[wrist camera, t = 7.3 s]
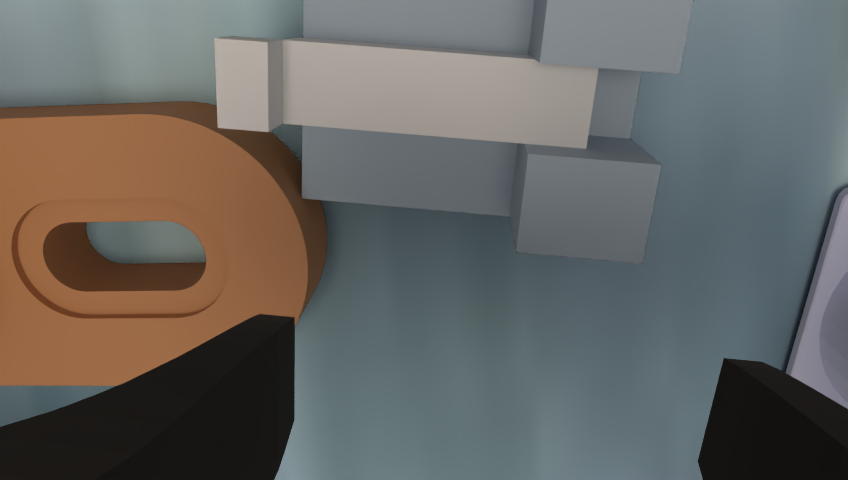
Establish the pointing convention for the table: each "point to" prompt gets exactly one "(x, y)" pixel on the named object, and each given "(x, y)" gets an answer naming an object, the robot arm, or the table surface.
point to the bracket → (142, 201)
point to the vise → (470, 110)
